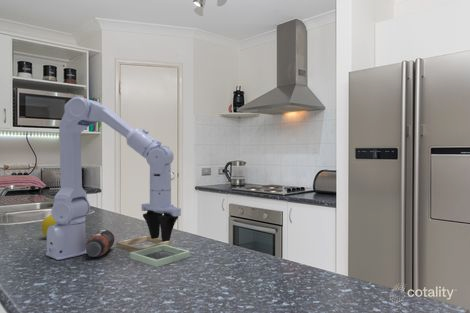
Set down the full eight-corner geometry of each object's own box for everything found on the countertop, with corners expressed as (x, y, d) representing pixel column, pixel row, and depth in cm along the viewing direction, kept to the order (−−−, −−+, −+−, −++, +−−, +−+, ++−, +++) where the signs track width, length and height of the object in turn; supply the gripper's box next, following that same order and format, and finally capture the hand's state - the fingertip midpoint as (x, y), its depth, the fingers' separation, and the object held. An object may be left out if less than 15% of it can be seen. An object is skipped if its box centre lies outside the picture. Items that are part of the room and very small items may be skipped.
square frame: (156, 267, 87) (156, 261, 87) (129, 258, 95) (129, 252, 95) (190, 256, 96) (190, 251, 96) (163, 249, 104) (163, 244, 104)
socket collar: (139, 254, 99) (139, 248, 99) (116, 247, 106) (116, 242, 106) (170, 245, 108) (170, 241, 108) (147, 239, 115) (147, 235, 115)
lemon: (63, 237, 119) (63, 213, 119) (53, 241, 113) (53, 216, 113) (48, 236, 119) (48, 213, 119) (37, 240, 114) (37, 216, 114)
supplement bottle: (99, 226, 104) (87, 234, 93) (118, 233, 104) (108, 242, 93) (91, 244, 104) (78, 255, 92) (110, 252, 104) (99, 263, 93)
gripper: (189, 190, 94) (189, 240, 94) (155, 187, 103) (155, 233, 103) (168, 192, 88) (168, 246, 88) (135, 189, 98) (135, 237, 98)
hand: (160, 239), depth 95 cm, fingers open, 4 cm apart
